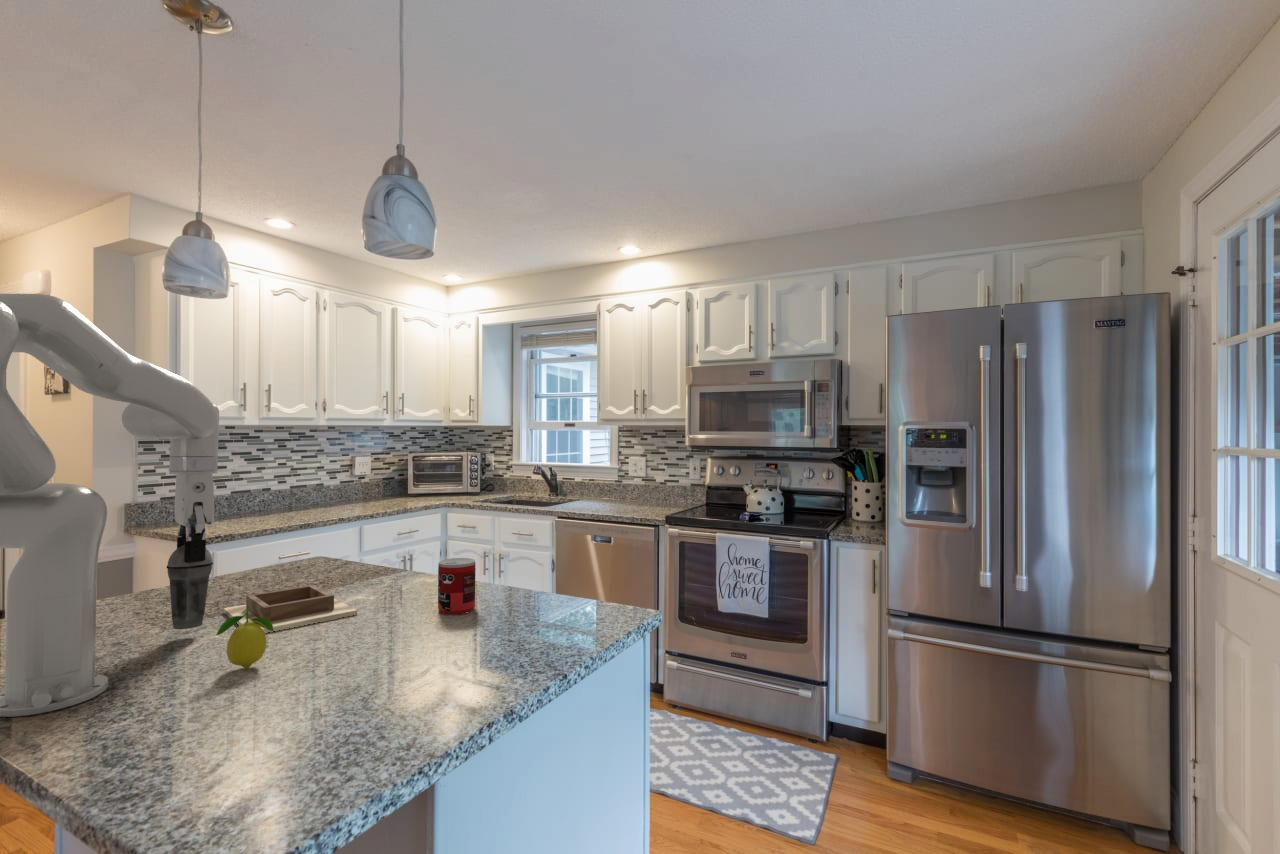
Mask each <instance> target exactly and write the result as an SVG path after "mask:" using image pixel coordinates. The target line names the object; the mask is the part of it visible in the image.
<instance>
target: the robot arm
mask: <svg viewBox="0 0 1280 854" xmlns="http://www.w3.org/2000/svg"><path fill="white" fill-rule="evenodd" d="M13 353H25V354H27V355H30V356H32V357H33V358H35V359H36V360H38V361H39V362H40V363H42V364H43V365H45V366H46V367H47V368H49V369H51V370H52V371H53V372H55V373H56V374H57V375H59V376H60V377H62V379H64V380H65V381H67V382H68V383H70V384H71V385H72V386H74V387H75V388H76V389H77V390H80V391H81V392H84V393H87V394H90V395H91V396H95V397H99V398H103V399H107V400H112V401H117V402H122V403H128V404H127V406H125V408H124V409H123V412H122V414H121V422H122V425H123V427H124V429H125V430H126V431H127V432H128V433H129V434H131V435H132V436H134V437H136V438H140V439H145V440H169V441H170V442H169V467H168V468H169V469H168V470H169V471H168V474H169V475H175V489H174V519H175V520H174V521H175V522H176V523H177V524H178V531H177V537H176V538H177V539H176V549H178V548H179V547H181V546H183V545H184V562H185V563H190V562H199V561H204V560H205V552H206V549H207V547H206V546H207V540H206V538H207V537H206V525H209V526H211V525H212V524H214V522H215V489H214V486H215V485H214V478H213V477H214V476H213V475H214V474H218V467H219V466H218V461H219V458H218V456H219V433H220V410H219V407H218V406H217V405H216V404H213V402H212V401H211V400H210V399H209V398H208V396H206V395H205V394H204V393H203V392H202V391H201V390H200V388H198V387H196V386H195V385H194V384H193V383H191V382H190V381H189V380H187V379H185V378H184V377H182V376H180V375H178V374H175V373H173V372H171V371H169V370H167V369H164V368H162V367H160V366H157V365H155V364H153V363H151V362H149V361H146V360H144V359H141V358H139V357H137V356H134V355H131V354H130V353H128V352H127V351H125V350H124V349H123V348H122V347H120V345H118V344H117V342H115V341H114V340H113V339H112V338H110V337H109V336H108V335H107V334H105V333H104V332H103V331H102V330H101V328H98V327H97V326H96V325H95V324H94V323H93V322H92V321H90V320H89V319H88V318H87V317H86V316H85V315H83V314H82V313H81V312H80V311H79V310H77V309H76V308H74V306H73V305H71V304H70V303H68V302H67V301H66V300H63V299H62V298H59V297H57V296H53V295H49V294H43V293H0V549H24V550H23V552H22V554H21V556H20V557H19V559H18V561H17V562H16V564H15V565H14V567H13V569H12V570H11V572H10V574H9V577H8V581H7V587H6V588H7V589H6V624H5V626H6V628H5V629H6V630H5V631H6V633H5V636H6V637H5V640H6V641H5V669H4V670H5V676H4V681H5V682H4V683H5V684H4V692H2V693H1V694H0V717H5V718H6V717H7V718H10V717H13V718H15V717H24V716H25V717H26V716H31V715H32V716H33V715H38V714H43V713H49V712H54V711H57V710H61V709H65V708H69V707H72V706H75V705H78V704H81V703H83V702H86V701H88V700H91V699H94V698H95V697H97V696H99V695H101V694H102V693H103V692H105V691H106V690H107V689H108V686H109V678H108V677H107V676H106V675H104V674H100V673H99V674H98V673H96V644H97V641H96V640H97V639H96V638H97V635H96V634H97V594H98V593H97V591H98V589H97V588H98V586H97V585H98V579H97V578H98V562H99V553H100V546H101V543H102V539H103V535H104V531H105V528H106V524H107V521H108V507H107V503H106V501H105V500H104V498H103V497H102V495H101V494H99V493H98V492H97V491H96V490H94V489H92V488H90V487H86V486H83V485H79V484H73V483H64V482H63V483H60V482H59V483H58V482H57V483H53V482H52V483H50V481H51V480H52V478H53V476H54V475H55V473H56V471H57V463H56V459H55V456H54V454H53V452H52V451H51V449H50V448H49V446H48V445H47V443H46V442H45V441H44V440H43V438H42V437H41V435H40V434H39V433H38V432H37V430H36V428H34V427H33V425H32V424H31V423H30V422H29V420H28V419H27V417H26V416H25V415H24V414H23V412H22V411H21V410H20V408H19V407H18V406H17V404H16V403H15V401H14V399H13V398H12V396H11V395H10V393H9V391H8V389H7V384H6V371H7V368H8V365H9V361H10V358H11V356H12V354H13ZM185 526H186V529H185ZM186 535H187V541H186Z"/></svg>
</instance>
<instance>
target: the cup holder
mask: <svg viewBox="0 0 1280 854" xmlns="http://www.w3.org/2000/svg"><path fill="white" fill-rule="evenodd" d="M245 596H246V602H245V604H240V605H235V606H229V607H223V611H222V613H223V614H224V615H225V614H226V615H227V616H226V615H225V616H226V617H228V619H229V618H231V617H234V616H244V615H245V614H246V613H247V608H248V617H249V618H251V619H254V618H266V619H267V620H269V621H270V622H271V624H272V625H273V630H274V631H275V632H279V630H280V631H285V630H290V629H294V627H295V628H298V627H299V626H300V627H304V625H305V626H309V625H308V624H310V625H314V624H313V623H315V624H318V622H320V623H324V622H327V621H328V622H329V621H334V620H338V618H339V619H343V618H342V617H344V618H349V617H354V616H357V615H358V610H357V608H354V607H352V606H349V605H348V604H346V603H345V602H342V601H341V600H338V599H336V598H335V595H334V594H332V593H330V592H328V591H326V590H324V589H323V588H320V587H318V586H317V585H315V584H309V585H303V586H297V587H290V588H284V589H279V590H272V591H266V592H260V593H253V594H248V595H245ZM246 615H247V614H246ZM246 615H245V616H244V617H243V618H242V619H240V620H239V621H238V622H237V624H238V625H239V626H241V625H243V624H244V623H245V622H246ZM353 615H354V616H353ZM348 616H349V617H348ZM249 618H248V621H249V622H251V623H254V622H253V621H252V620H251V619H249ZM237 624H236V625H237ZM238 625H237V626H238ZM239 626H238V627H239ZM300 627H299V628H300ZM261 628H262V627H261ZM289 628H290V629H289ZM262 629H263V631H264V633H265V634H269V633H268V632H270V633H274V632H273V631H270V630H267V629H264V628H262ZM284 629H285V630H284Z"/></svg>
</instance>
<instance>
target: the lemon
mask: <svg viewBox="0 0 1280 854" xmlns="http://www.w3.org/2000/svg"><path fill="white" fill-rule="evenodd" d="M246 614H247V615H246ZM246 614H245V615H246V622H245V623H244V624H243V625H241V626H238V627H236V628H235V629H234V630H233V631H232V633H231V635H230V636H229V639H228V640H227V645H226V655H227V658H228V660H229V662H230V663H231V664H232V665H235V666H237V667H239V666H240V667H243V668H244V669H245V670H246V669H249V668H250V667H251V666H252V665H253V664H254V663H256V662H258V661H259V660H261V658H262V657H263V655H265V651H266V649H267V648H266V647H267V637H266V633H264V631H263V629H262V628H264V629H267V630H270V631H274V630H273V625H272V624H271V622H270V621H269V620H267V619H266V618H254V619H251V618H249V617H248V608H247V613H246ZM245 615H244V616H245ZM244 616H234V617H231V618H229V617H228V618H227V619H226V620H225V621H224V622H223V623H222V624H221V625H220V628H219V629H218V630H217V633H216V635H215V636H219V635H220V636H221V635H222V634H223V633H225V632H226V631H227V630H229V629H230V628H232V627H233V626H234V625H236V623H237V622H238V621H239V620H240V619H242V618H243V617H244ZM248 618H249V619H251V620H252V621H253V622H254V623H251V622H249V621H248ZM261 627H262V628H261Z"/></svg>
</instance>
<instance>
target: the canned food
mask: <svg viewBox="0 0 1280 854" xmlns="http://www.w3.org/2000/svg"><path fill="white" fill-rule="evenodd" d="M437 565H438V570H437V573H438V574H437V577H438V578H437V579H438V580H437V609H438V612H439V613H440V614H442V615H446V614H459V615H463V614H462V613H465V614H467V613H466V612H469V613H471V612H473V611H474V609H475V608H476V607H475V606H476V559H473V558H469V557H453V558H452V557H451V558H445V559H443V560H442V559H441V560H439V561H438V564H437ZM472 610H473V611H472ZM470 611H471V612H470Z"/></svg>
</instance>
